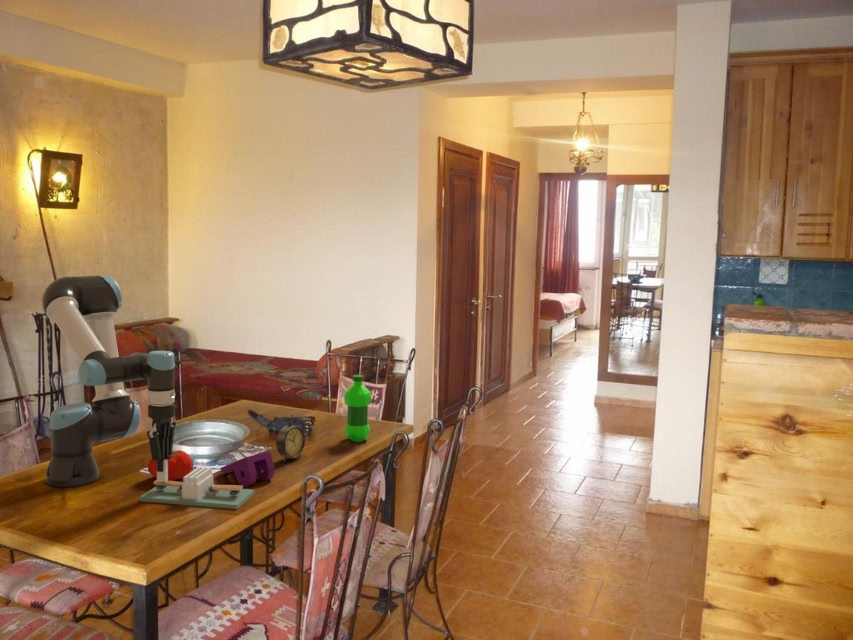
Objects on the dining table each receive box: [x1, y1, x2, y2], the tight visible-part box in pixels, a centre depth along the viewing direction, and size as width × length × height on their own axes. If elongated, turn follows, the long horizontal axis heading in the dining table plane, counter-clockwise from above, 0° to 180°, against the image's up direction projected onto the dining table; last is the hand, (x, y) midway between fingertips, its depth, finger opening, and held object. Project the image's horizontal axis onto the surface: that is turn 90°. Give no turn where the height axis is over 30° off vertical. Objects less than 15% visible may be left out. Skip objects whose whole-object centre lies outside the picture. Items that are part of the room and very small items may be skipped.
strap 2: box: [208, 483, 244, 491], centre depth 217 cm, size 10×3×1 cm, turn 81°
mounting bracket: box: [220, 450, 276, 488], centre depth 236 cm, size 9×8×18 cm
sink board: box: [138, 466, 255, 510], centre depth 218 cm, size 30×13×8 cm, turn 81°
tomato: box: [147, 449, 195, 481], centre depth 235 cm, size 14×13×9 cm
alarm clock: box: [275, 413, 306, 464], centre depth 257 cm, size 11×5×16 cm, turn 150°
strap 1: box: [153, 479, 184, 488], centre depth 220 cm, size 10×3×1 cm, turn 81°
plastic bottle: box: [343, 374, 372, 443], centre depth 283 cm, size 10×10×25 cm
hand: (162, 480), depth 220 cm, fingers closed
